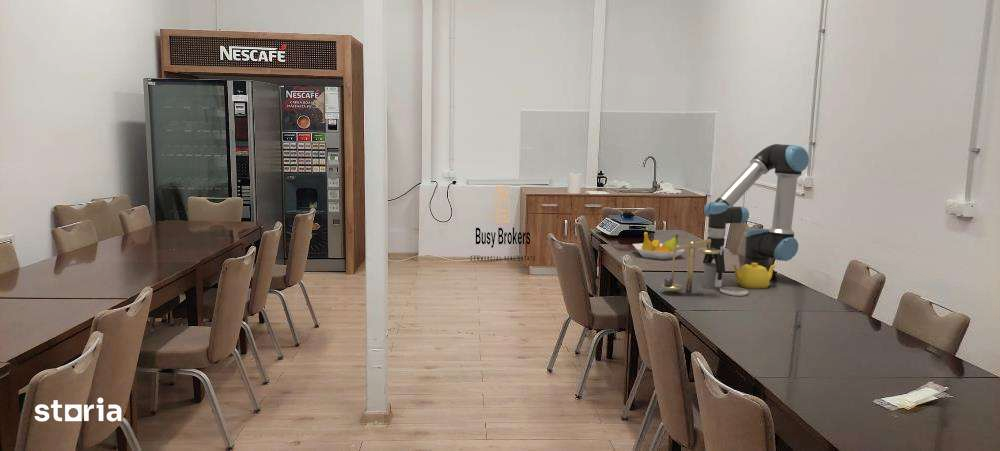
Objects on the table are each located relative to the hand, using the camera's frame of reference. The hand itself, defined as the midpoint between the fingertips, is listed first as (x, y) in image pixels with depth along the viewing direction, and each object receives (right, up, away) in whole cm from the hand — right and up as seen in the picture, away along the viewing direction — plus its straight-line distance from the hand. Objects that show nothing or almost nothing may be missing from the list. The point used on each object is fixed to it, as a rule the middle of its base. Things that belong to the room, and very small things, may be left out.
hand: (712, 283), depth 323 cm
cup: (0, -2, 0) cm, 2 cm away
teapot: (+20, -1, +5) cm, 20 cm away
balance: (-15, -3, -14) cm, 21 cm away
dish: (+6, -3, -11) cm, 13 cm away
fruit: (-10, +9, +69) cm, 70 cm away
